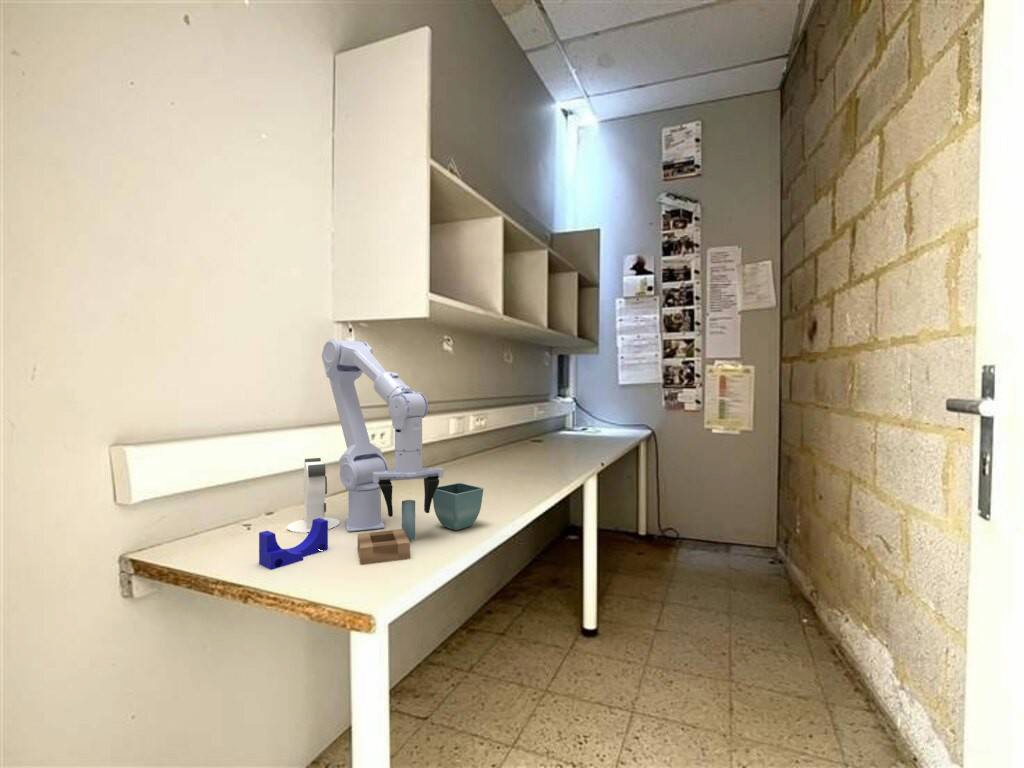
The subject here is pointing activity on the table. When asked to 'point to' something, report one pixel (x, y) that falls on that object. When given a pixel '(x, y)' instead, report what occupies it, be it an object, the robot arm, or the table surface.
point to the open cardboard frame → (383, 546)
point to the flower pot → (457, 505)
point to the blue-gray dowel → (408, 518)
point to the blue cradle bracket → (278, 557)
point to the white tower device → (313, 497)
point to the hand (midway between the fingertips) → (408, 513)
